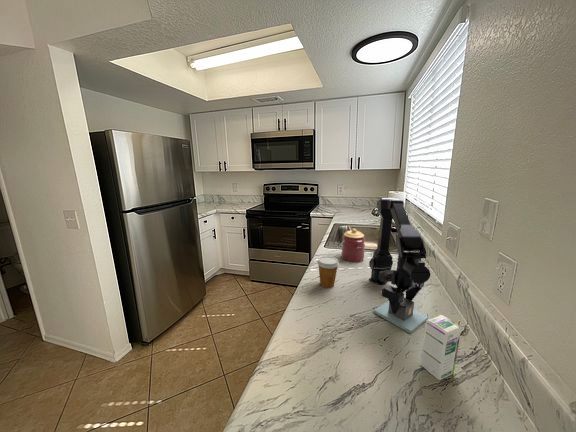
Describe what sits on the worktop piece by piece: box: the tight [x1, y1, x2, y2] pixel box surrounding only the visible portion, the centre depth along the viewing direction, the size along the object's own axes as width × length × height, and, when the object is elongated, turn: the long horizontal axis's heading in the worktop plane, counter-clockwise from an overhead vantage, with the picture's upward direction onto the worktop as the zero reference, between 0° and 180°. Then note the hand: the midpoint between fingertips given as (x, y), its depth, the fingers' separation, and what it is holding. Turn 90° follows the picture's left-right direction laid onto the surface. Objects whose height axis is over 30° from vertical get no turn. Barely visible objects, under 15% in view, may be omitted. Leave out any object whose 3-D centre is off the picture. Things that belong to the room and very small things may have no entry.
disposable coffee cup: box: [316, 255, 340, 289], centre depth 108 cm, size 10×10×12 cm
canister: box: [340, 228, 366, 263], centre depth 137 cm, size 13×13×18 cm
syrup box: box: [420, 314, 462, 382], centre depth 64 cm, size 6×6×14 cm
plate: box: [373, 300, 429, 334], centre depth 87 cm, size 14×12×1 cm
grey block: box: [388, 297, 415, 321], centre depth 87 cm, size 6×6×5 cm
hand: (400, 308), depth 87 cm, fingers open, 9 cm apart
